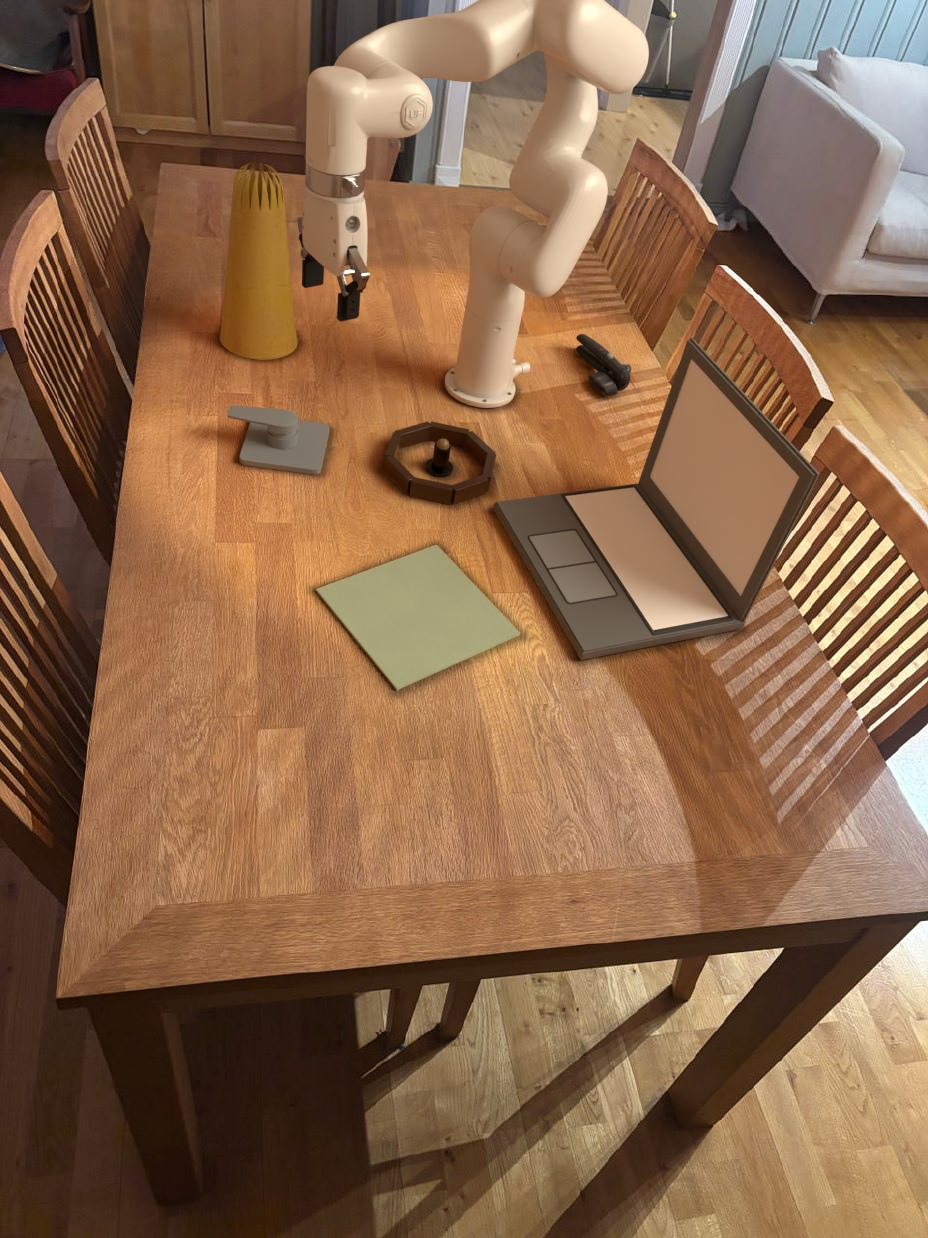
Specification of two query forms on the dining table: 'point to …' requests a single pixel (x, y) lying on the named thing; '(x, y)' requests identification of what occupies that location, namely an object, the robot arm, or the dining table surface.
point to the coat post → (440, 460)
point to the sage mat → (417, 615)
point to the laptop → (669, 524)
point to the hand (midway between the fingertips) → (329, 301)
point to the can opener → (603, 367)
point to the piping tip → (258, 271)
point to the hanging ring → (433, 488)
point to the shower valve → (281, 440)
